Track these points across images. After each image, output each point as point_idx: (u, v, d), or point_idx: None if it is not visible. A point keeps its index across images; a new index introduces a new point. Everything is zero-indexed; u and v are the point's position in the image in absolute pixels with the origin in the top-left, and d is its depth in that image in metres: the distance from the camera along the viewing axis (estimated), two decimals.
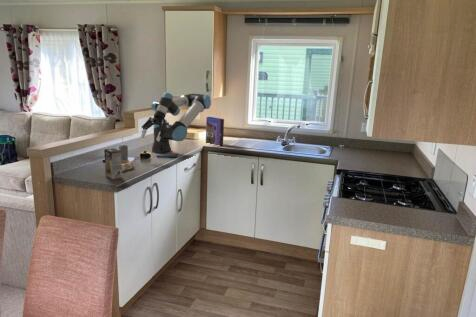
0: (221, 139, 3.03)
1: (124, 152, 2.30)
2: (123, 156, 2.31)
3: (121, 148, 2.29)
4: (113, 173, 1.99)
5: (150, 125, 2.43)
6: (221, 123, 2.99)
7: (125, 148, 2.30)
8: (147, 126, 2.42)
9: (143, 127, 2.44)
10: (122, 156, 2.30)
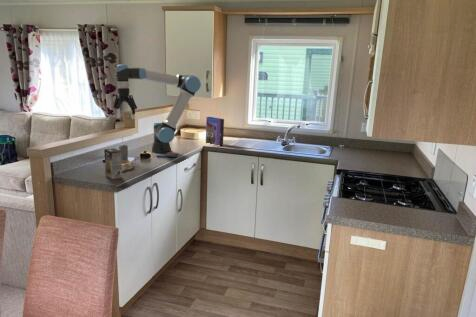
0: (221, 139, 3.03)
1: (124, 152, 2.30)
2: (123, 156, 2.31)
3: (121, 148, 2.29)
4: (113, 173, 1.99)
5: (120, 103, 2.42)
6: (221, 123, 2.99)
7: (125, 148, 2.30)
8: (118, 105, 2.42)
9: None
10: (122, 156, 2.30)
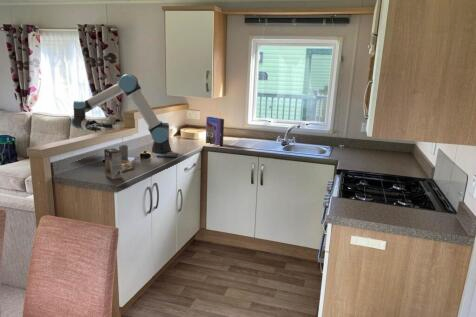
0: (221, 139, 3.03)
1: (124, 152, 2.30)
2: (123, 156, 2.31)
3: (121, 148, 2.29)
4: (113, 173, 1.99)
5: (105, 126, 2.41)
6: (221, 123, 2.99)
7: (125, 148, 2.30)
8: (108, 127, 2.42)
9: None
10: (122, 156, 2.30)
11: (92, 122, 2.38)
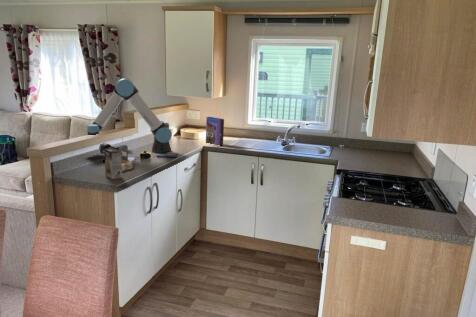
0: (221, 139, 3.03)
1: None
2: (123, 156, 2.31)
3: (121, 148, 2.29)
4: (113, 173, 1.99)
5: None
6: (221, 123, 2.99)
7: (125, 148, 2.30)
8: None
9: None
10: (122, 156, 2.30)
11: (106, 146, 2.37)
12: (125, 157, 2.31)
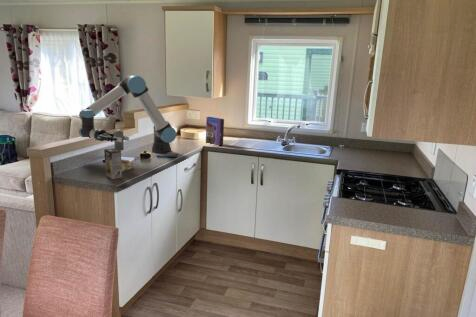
0: (221, 139, 3.03)
1: None
2: (118, 142, 2.17)
3: (116, 134, 2.16)
4: (113, 173, 1.99)
5: None
6: (221, 123, 2.99)
7: (120, 134, 2.16)
8: None
9: None
10: (117, 142, 2.17)
11: (101, 132, 2.23)
12: (120, 143, 2.18)
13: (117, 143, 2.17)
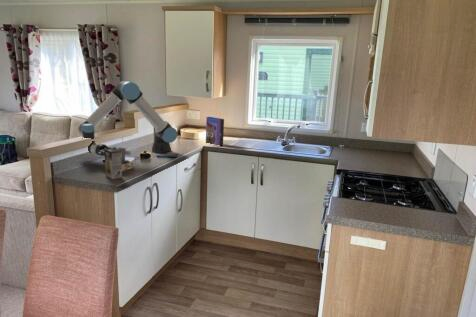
0: (221, 139, 3.03)
1: None
2: None
3: None
4: (113, 173, 1.99)
5: None
6: (221, 123, 2.99)
7: (122, 151, 2.17)
8: None
9: None
10: None
11: (102, 147, 2.23)
12: (122, 160, 2.18)
13: None
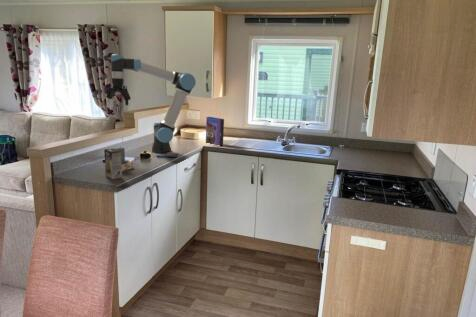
0: (221, 139, 3.03)
1: (121, 156, 2.17)
2: None
3: None
4: (113, 173, 1.99)
5: (113, 93, 2.41)
6: (221, 123, 2.99)
7: (122, 151, 2.17)
8: (111, 95, 2.41)
9: (108, 96, 2.43)
10: None
11: None
12: (122, 161, 2.18)
13: None
